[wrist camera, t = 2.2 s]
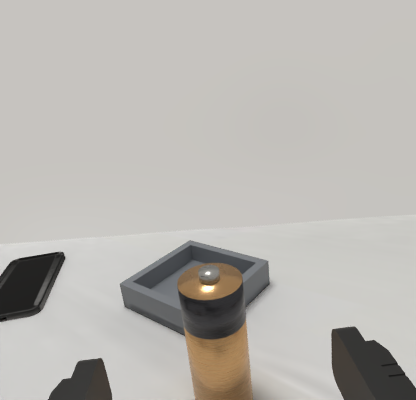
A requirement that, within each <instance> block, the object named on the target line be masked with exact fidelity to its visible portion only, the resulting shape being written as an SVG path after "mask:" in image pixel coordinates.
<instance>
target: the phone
mask: <svg viewBox="0 0 416 400" xmlns="http://www.w3.org/2000/svg"><path fill="white" fill-rule="evenodd" d="M64 260H65V256H64V253H63V252H55V253H49V254H43V255H37V256H31V257H25V258H19V259H16V260H13V261H12V262H10V263H9V265H8V266H7V268H6V269H5V270H4V272H3V273H2V274H1V276H0V318H5V317H6V318H7V319H3V320H0V322H1V321H7V320H12V319H18V318H23V317H29V316H33V315H35V314H37V313H39V312H40V311H41V310H42V309H43V307H44V305H45V302H46V300H47V298H48V296H49V293H50V291H51V289H52V287H53V284H54V282H55V280H56V278H57V275H58V273H59V271H60V269H61V266H62V264H63V262H64Z"/></svg>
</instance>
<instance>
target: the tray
mask: <svg viewBox="0 0 416 400" xmlns="http://www.w3.org/2000/svg"><path fill="white" fill-rule="evenodd" d="M206 263H223V264H228V265H231V266H233V267H235V268H237V269H238V270H239V271H240V272H241V274H242V277H243V288H244V300H245V307H246V306H247V305H248V304H249V303H250V302H251V301H252V300H253V299H254V298H255V297H256V296H257V295H258V294H259V293H260V292H261V291H262V290H263V289H264V288H265V287H266V286H267V285H268V284H269V267H268V261H267V260H263V259H259V258H255V257H251V256H248V255H244V254H240V253H236V252H232V251H229V250H225V249H221V248H217V247H213V246H210V245H206V244H202V243H198V242H194V241H191V240H190V241H188V242H187V243H185V244H183V245H182V246H180V247H178V248H177V249H175V250H174V251H172V252H170V253H169V254H167V255H166V256H164V257H162V258H161V259H159V260H157V261H156V262H154V263H153V264H151V265H149V266H148V267H146V268H145V269H143V270H141V271H140V272H138V273H137V274H135V275H133V276H132V277H130V278H128V279H127V280H125V281H124V282H122V283H120V287H121V292H122V296H123V301H124V305H125V307H127V308H129V309H131V310H133V311H135V312H137V313H139V314H141V315H144V316H146V317H148V318H150V319H152V320H154V321H156V322H158V323H160V324H162V325H164V326H166V327H168V328H170V329H173V330H175V331H177V332H179V333H181V334H183V335H185V331H184V325H183V320H182V313H181V307H180V300H179V294H178V288H177V282H178V279H179V277H180V276H181V275H182V274H183V273H184V272H185V271H187V270H188V269H190V268H192V267H195V266H198V265H201V264H206Z"/></svg>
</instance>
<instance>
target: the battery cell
mask: <svg viewBox="0 0 416 400" xmlns="http://www.w3.org/2000/svg"><path fill="white" fill-rule="evenodd" d="M177 288H178V294H179V300H180V307H181V313H182V320H183V325H184V331H185V337H186V343H187V350H188V356H189V363H190V369H191V375H192V382H193V388H194V395H195V400H253V396H252V385H251V373H250V361H249V350H248V338H247V326H246V311H245V300H244V288H243V277H242V274H241V272H240V271H239V270H238V269H237V268H235V267H233V266H231V265H228V264H223V263H206V264H201V265H198V266H195V267H192V268H190V269H188V270H187V271H185V272H184V273H183V274H182V275H181V276H180V277H179V279H178V282H177Z"/></svg>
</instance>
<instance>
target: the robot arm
mask: <svg viewBox="0 0 416 400" xmlns="http://www.w3.org/2000/svg"><path fill="white" fill-rule="evenodd" d="M332 369H333V374H334V378H335V381H336V383H337V386H338V388H339V390H340V392H341V394H342V396H343V398H344V400H416V388H415V386H414V385H413V384H412V382H411V381H410V380H409V378H408V377H407V376H406V375H405V373H404V371H403V370H402V369H401V367H400V366H398V364H397V362H396V360H395V359H394V358H393V356H392V355H391V353H390V352H389V351H388V350H387V349H386V348H384V347H383V346H382V345H380V344H379V343H377V342H376V341H375V340H372V341H365V340H364V338H363V337H362V335H361V334H360V332H359V331H358V329H357V328H356V327H346V328H338V329H333V330H332ZM48 400H112V393H111V389H110V385H109V381H108V377H107V373H106V370H105V366H104V362H103V360H102V359H101V358H98V359H90V360H83V361H79V362H78V363H77V365H76V367H75V370H74V372H73V375H72V377H71V378H69V379H63V380H62V381H61V382H60V383H59V384H58V386H57V387H56V388H55V389H54V390H53V391H52V392H51V394H50V397H49V399H48Z"/></svg>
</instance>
